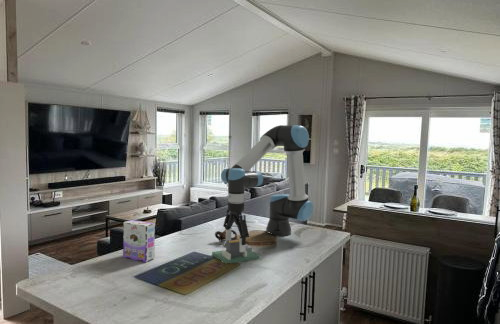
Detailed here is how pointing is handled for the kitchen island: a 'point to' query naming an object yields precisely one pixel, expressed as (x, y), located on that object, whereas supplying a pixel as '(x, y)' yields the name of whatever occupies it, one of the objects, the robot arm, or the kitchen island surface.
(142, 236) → the candy box
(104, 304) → the kitchen island surface
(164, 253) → the kitchen island surface
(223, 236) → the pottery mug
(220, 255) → the header board
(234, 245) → the plug
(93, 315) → the kitchen island surface
